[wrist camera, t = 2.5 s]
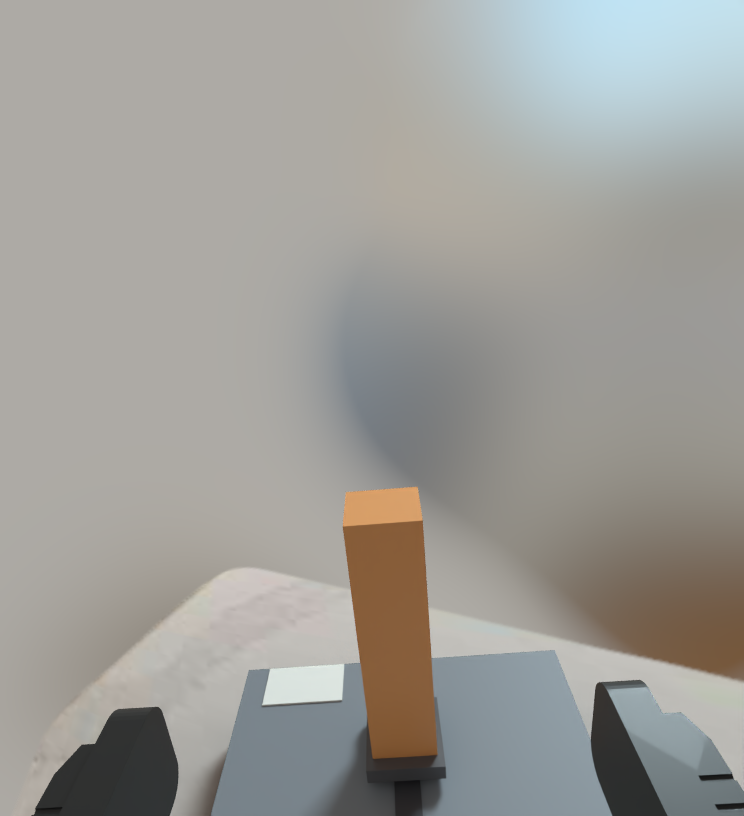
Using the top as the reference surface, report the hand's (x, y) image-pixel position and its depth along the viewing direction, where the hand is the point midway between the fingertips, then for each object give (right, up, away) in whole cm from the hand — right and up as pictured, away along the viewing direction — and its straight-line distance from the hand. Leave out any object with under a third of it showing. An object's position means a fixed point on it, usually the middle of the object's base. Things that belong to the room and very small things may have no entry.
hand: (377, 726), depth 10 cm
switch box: (+2, -15, +18) cm, 23 cm away
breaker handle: (+1, -11, +16) cm, 19 cm away
